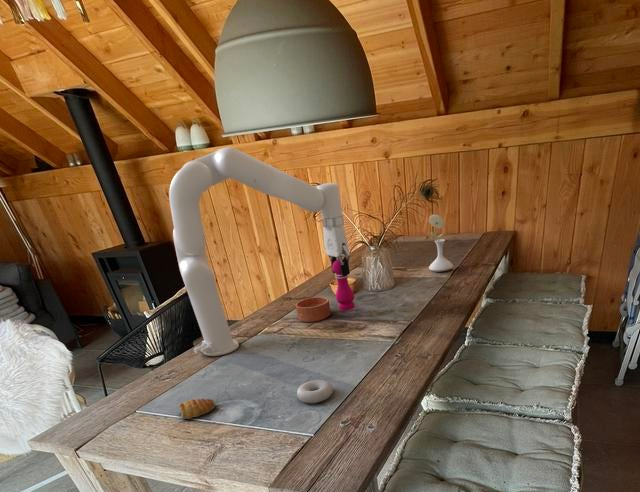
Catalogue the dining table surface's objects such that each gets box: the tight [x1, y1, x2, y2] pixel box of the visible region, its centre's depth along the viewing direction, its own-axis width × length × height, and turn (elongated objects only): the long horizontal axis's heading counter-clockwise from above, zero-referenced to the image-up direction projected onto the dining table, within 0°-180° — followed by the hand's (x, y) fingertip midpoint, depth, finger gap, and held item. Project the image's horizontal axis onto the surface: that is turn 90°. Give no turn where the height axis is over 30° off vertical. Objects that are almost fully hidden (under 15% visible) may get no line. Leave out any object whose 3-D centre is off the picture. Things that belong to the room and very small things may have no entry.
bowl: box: [294, 296, 332, 323], centre depth 186 cm, size 13×13×6 cm
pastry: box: [178, 398, 216, 420], centre depth 129 cm, size 9×7×4 cm
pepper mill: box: [331, 257, 356, 312], centre depth 177 cm, size 7×7×20 cm
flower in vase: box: [428, 214, 454, 273], centre depth 218 cm, size 13×11×25 cm
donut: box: [296, 379, 333, 404], centre depth 129 cm, size 10×4×10 cm
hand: (341, 273), depth 175 cm, fingers closed on pepper mill, 6 cm apart
